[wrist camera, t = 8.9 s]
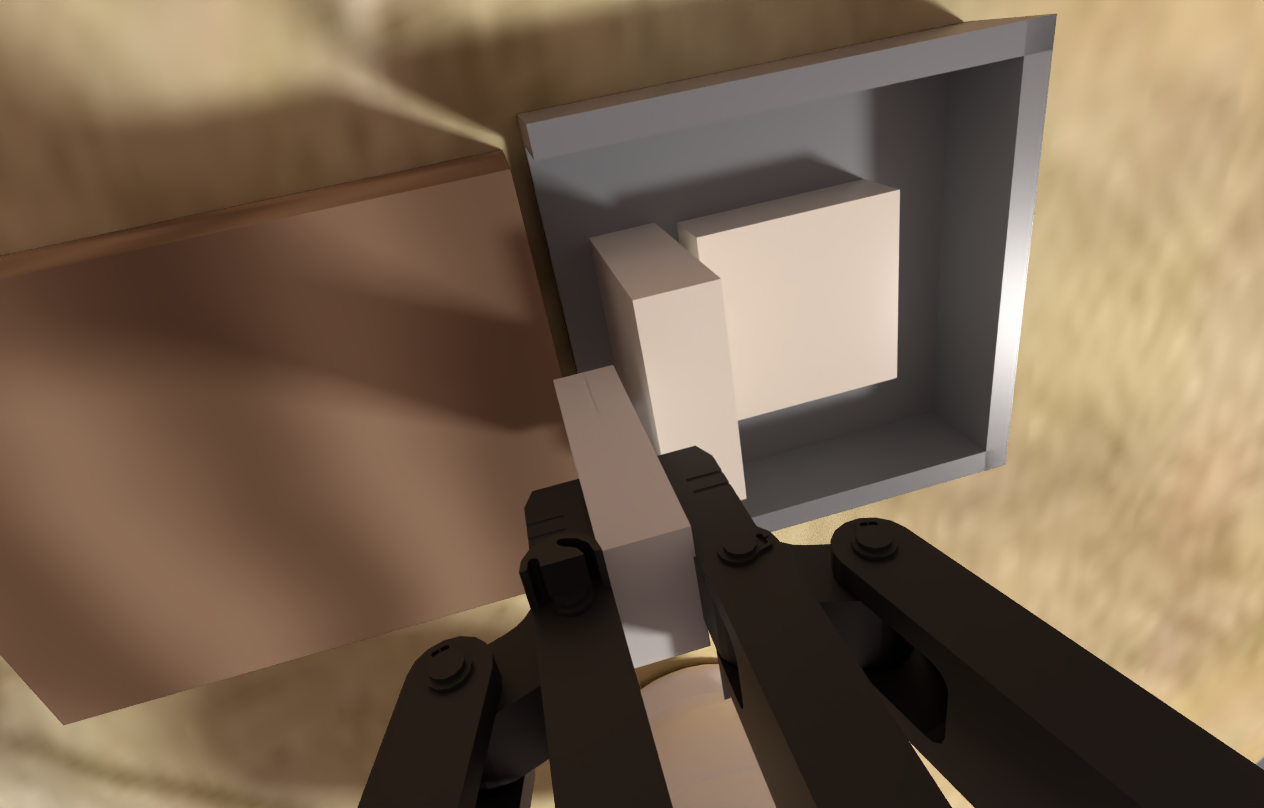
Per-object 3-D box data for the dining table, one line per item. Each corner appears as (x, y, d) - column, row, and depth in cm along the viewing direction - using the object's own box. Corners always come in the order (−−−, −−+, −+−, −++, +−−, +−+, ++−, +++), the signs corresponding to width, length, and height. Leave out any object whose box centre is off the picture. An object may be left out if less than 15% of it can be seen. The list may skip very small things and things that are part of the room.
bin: (609, 509, 25) (629, 572, 22) (516, 114, 18) (526, 123, 15) (942, 418, 26) (1005, 464, 23) (965, 21, 20) (1056, 13, 17)
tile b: (896, 377, 22) (864, 354, 24) (899, 189, 19) (863, 178, 21) (720, 425, 21) (701, 397, 23) (696, 237, 18) (676, 222, 20)
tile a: (672, 519, 17) (746, 498, 17) (632, 300, 14) (720, 278, 15) (625, 413, 22) (682, 398, 23) (588, 237, 20) (654, 222, 20)
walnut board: (126, 623, 23) (63, 725, 19) (-127, 283, 17) (-282, 339, 13) (589, 496, 24) (609, 569, 21) (502, 149, 19) (510, 169, 15)
